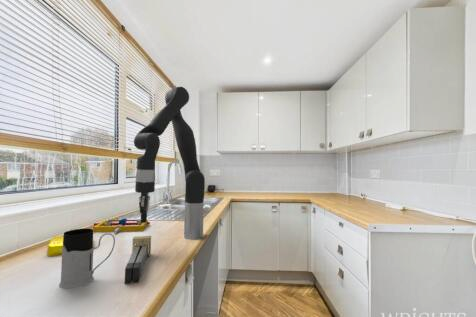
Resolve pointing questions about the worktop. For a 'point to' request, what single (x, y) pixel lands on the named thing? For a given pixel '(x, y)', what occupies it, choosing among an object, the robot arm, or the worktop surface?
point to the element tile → (55, 246)
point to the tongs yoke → (143, 245)
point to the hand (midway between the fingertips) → (143, 222)
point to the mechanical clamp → (120, 226)
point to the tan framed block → (142, 242)
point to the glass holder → (78, 258)
